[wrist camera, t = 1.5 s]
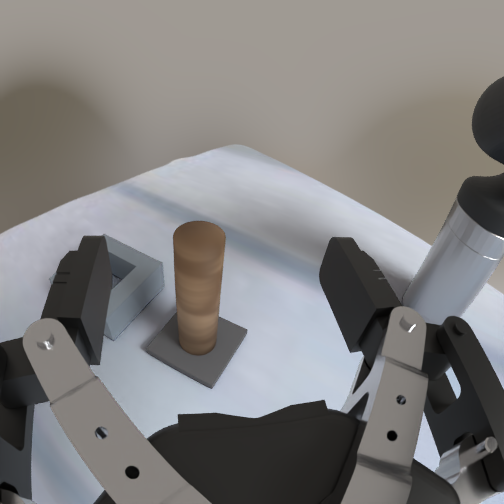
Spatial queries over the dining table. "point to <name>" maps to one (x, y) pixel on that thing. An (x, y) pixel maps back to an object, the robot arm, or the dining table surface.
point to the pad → (195, 366)
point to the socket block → (129, 285)
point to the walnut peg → (198, 284)
